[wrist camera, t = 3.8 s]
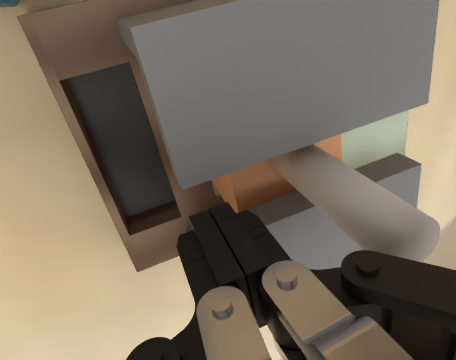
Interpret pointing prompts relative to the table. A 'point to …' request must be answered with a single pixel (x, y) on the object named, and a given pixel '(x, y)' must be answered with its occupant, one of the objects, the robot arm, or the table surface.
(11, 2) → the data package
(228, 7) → the tunnel
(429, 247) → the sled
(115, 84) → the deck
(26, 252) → the table surface
